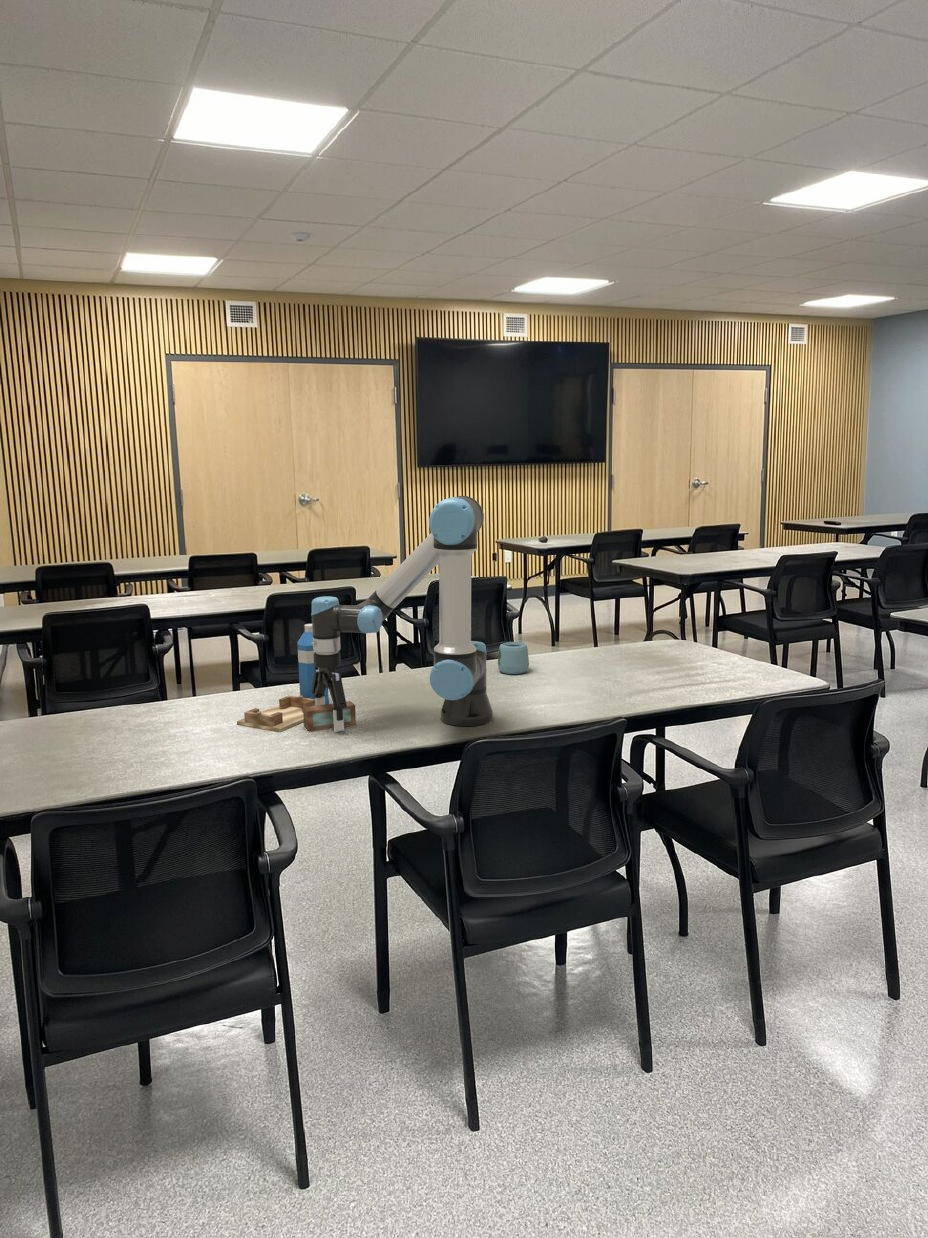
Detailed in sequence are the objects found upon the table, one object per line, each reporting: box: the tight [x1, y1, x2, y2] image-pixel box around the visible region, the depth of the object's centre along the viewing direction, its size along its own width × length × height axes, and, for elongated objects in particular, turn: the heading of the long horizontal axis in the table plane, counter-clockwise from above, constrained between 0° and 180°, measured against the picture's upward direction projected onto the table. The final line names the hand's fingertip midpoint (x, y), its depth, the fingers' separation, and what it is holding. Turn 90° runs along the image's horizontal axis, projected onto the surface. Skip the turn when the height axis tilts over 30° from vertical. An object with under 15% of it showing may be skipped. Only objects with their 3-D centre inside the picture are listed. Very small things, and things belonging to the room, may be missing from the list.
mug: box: [497, 641, 530, 675], centre depth 317 cm, size 15×11×10 cm
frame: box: [303, 701, 357, 732], centre depth 256 cm, size 14×5×6 cm, turn 115°
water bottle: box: [297, 623, 330, 704], centre depth 277 cm, size 9×9×25 cm
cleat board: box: [236, 694, 316, 733], centre depth 263 cm, size 16×20×5 cm
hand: (329, 725), depth 257 cm, fingers open, 12 cm apart
